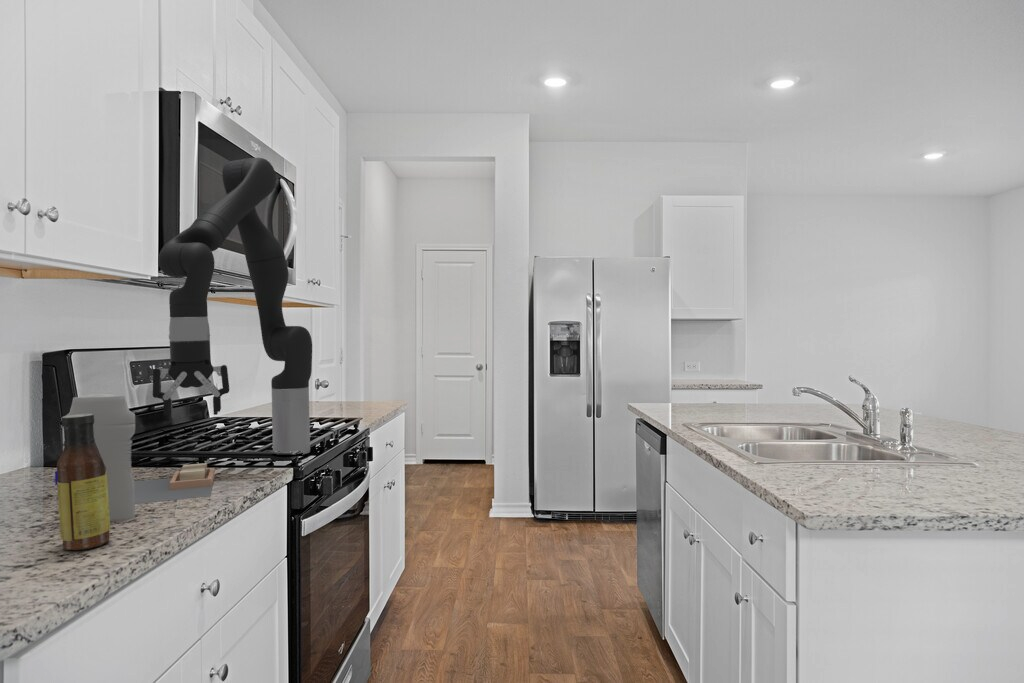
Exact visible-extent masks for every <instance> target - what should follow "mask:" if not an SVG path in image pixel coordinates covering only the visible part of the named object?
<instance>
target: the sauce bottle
mask: <svg viewBox="0 0 1024 683" xmlns="http://www.w3.org/2000/svg"><path fill="white" fill-rule="evenodd" d="M66 415H67V414H66ZM66 415H64V416H62V417H61V425H62V426H63V427H64V438H65V441H64V446H65V447H64V450H63V449H62V453H61V455H60V457H59V458H58V460H57V462H56V471H57V474H58V481H57V485H56V486H57V498H58V499H57V500H58V501H57V502H58V514H59V516H58V517H59V528H60V540H62V547H63V549H64V550H67V551H74V552H75V551H76V552H77V551H83V550H90V549H94V548H97V547H100V546H102V545H105V544H107V543H108V542H109V541H110V535H111V534H110V530H111V522H110V514H109V500H108V487H107V473H106V466H105V464H104V462H103V460H102V457H101V455H100V453H99V450H98V448H97V445H96V443H95V439H94V428H93V424H94V422H95V421H94V415H93V414H75V415H67V416H66ZM62 426H61V427H62Z"/></svg>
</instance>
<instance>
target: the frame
mask: <svg viewBox="0 0 1024 683" xmlns="http://www.w3.org/2000/svg"><path fill="white" fill-rule="evenodd" d="M180 471H181V470H175V472H174V474H173V476H172V477H171V478H172V479H171V481H170V490H177V489H187V488H197V487H208V486H212V483H213V479H214V476H215V474H216V473H215V471H216V470H215V467H209V468H208V467H207V476H208V478H206V479H195V480H185V481H179V479H180ZM215 477H216V476H215Z"/></svg>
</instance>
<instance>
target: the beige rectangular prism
mask: <svg viewBox="0 0 1024 683" xmlns="http://www.w3.org/2000/svg"><path fill="white" fill-rule="evenodd" d="M207 468H208V463H207V462H205V463H191V464H183V465H182V467H181V470H179V471H180V481H185V480H195V479H206V478H207Z"/></svg>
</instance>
